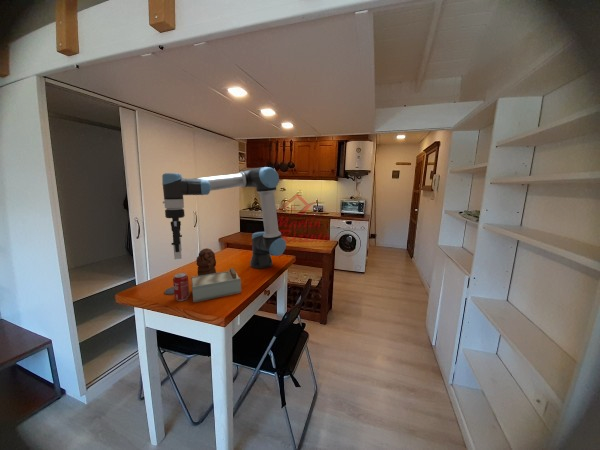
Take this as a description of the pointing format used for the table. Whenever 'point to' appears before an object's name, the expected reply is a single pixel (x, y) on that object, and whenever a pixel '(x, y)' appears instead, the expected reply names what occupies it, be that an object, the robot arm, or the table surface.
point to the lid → (215, 278)
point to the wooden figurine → (206, 262)
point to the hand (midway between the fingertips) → (178, 254)
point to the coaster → (169, 291)
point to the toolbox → (215, 289)
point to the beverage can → (181, 286)
